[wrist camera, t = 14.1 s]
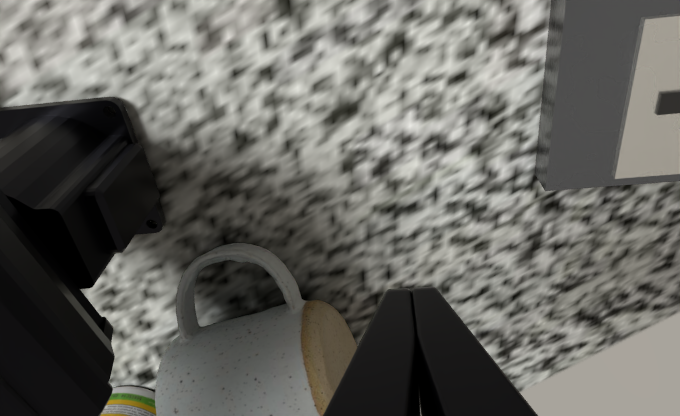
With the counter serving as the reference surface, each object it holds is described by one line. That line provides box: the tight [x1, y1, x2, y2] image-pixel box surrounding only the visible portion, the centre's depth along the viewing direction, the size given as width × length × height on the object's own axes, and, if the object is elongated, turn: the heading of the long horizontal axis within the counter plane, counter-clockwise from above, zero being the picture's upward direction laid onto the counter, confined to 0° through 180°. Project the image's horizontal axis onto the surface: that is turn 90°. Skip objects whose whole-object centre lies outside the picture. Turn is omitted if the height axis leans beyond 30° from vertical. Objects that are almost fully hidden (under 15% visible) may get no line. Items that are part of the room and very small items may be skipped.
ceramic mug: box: [155, 243, 357, 416], centre depth 24 cm, size 11×8×8 cm
